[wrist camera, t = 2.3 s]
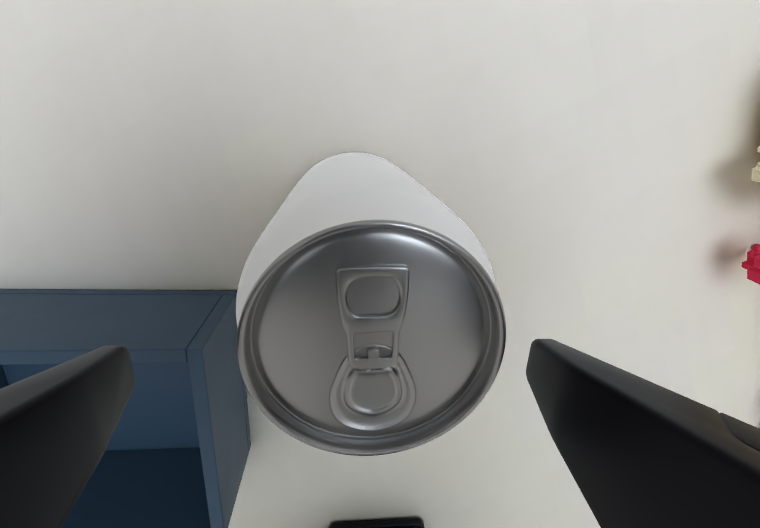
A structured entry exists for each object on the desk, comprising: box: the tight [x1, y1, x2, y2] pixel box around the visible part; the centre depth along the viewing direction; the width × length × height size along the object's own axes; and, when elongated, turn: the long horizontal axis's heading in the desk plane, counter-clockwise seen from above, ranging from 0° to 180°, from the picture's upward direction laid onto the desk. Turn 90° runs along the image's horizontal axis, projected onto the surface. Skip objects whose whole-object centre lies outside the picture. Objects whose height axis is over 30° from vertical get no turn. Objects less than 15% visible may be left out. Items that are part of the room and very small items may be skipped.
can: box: [236, 152, 506, 456], centre depth 14 cm, size 6×6×12 cm
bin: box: [0, 289, 251, 528], centre depth 18 cm, size 12×10×6 cm
